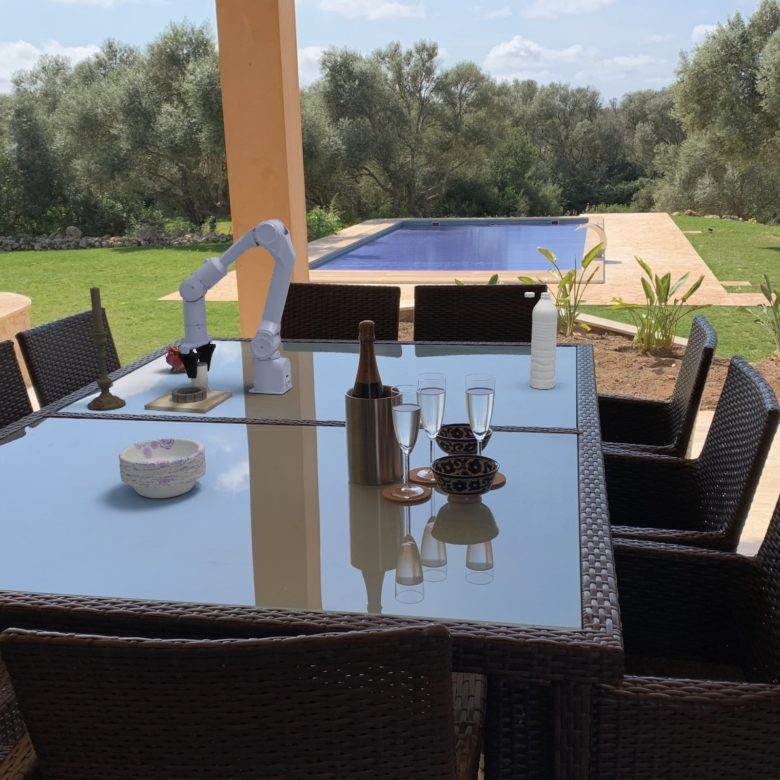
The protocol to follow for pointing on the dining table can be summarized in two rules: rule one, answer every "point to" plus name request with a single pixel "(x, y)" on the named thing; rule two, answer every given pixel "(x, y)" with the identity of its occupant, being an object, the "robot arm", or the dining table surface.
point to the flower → (174, 359)
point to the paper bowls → (162, 466)
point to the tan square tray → (189, 400)
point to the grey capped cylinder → (201, 376)
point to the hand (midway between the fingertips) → (198, 374)
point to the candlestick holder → (101, 360)
